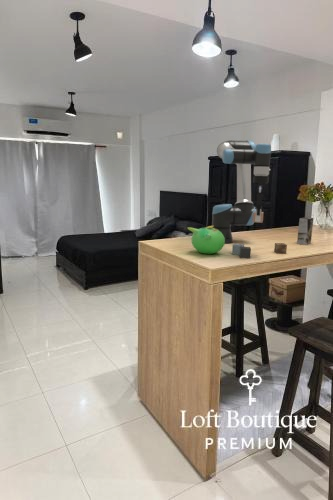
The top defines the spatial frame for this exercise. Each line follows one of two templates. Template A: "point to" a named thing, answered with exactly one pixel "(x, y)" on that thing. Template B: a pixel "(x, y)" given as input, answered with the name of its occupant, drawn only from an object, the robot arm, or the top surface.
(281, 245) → the walnut cube
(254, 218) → the terracotta cube
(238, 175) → the robot arm
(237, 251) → the slate grey cube
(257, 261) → the top surface
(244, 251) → the black rubber cube
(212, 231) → the toy bird
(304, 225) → the coffee box
